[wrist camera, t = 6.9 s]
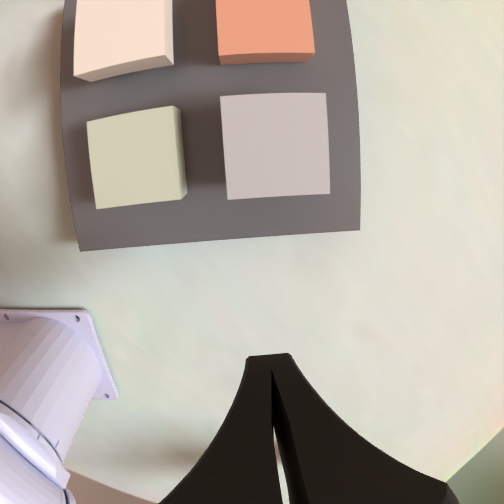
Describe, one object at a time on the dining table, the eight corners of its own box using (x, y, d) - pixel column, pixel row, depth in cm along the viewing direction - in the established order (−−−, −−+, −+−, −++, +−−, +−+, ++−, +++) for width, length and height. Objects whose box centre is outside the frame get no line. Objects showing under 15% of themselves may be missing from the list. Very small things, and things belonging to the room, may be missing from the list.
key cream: (91, 82, 12) (73, 76, 10) (92, 10, 11) (77, -2, 9) (173, 64, 12) (164, 54, 10) (172, -9, 11) (164, -25, 9)
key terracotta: (220, 65, 13) (218, 55, 11) (216, -5, 12) (214, -21, 10) (306, 62, 13) (315, 53, 11) (298, -7, 12) (305, -22, 10)
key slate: (228, 192, 14) (227, 200, 12) (222, 102, 13) (220, 96, 11) (319, 187, 14) (330, 193, 12) (315, 98, 13) (325, 93, 11)
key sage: (110, 201, 15) (96, 209, 13) (102, 123, 14) (86, 121, 12) (187, 192, 15) (181, 199, 13) (180, 109, 14) (173, 105, 12)
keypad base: (94, 240, 18) (79, 251, 16) (79, 6, 13) (65, -4, 11) (347, 220, 18) (359, 230, 16) (330, -22, 13) (339, -36, 11)
